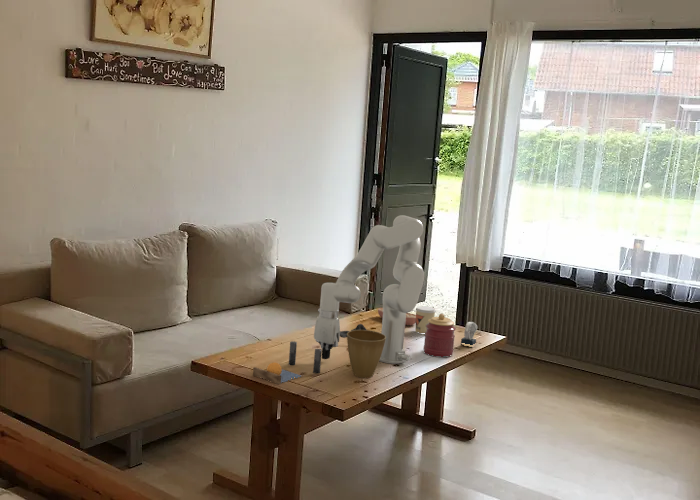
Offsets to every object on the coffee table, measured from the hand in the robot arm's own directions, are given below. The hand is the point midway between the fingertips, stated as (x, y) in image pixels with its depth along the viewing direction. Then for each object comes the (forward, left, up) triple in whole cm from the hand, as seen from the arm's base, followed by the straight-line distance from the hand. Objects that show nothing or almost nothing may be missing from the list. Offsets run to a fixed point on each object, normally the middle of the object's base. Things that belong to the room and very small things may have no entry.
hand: (325, 358), depth 305 cm
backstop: (0, +34, -2) cm, 34 cm away
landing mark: (0, +27, -2) cm, 27 cm away
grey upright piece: (-26, -72, -2) cm, 76 cm away
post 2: (-6, +13, -2) cm, 15 cm away
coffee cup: (0, -74, -2) cm, 75 cm away
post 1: (+6, +13, -2) cm, 15 cm away
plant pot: (-20, +2, -2) cm, 20 cm away
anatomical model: (+20, -81, -2) cm, 83 cm away
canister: (-23, -50, -2) cm, 55 cm away
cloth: (+15, -44, -3) cm, 47 cm away
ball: (0, +30, +1) cm, 30 cm away
